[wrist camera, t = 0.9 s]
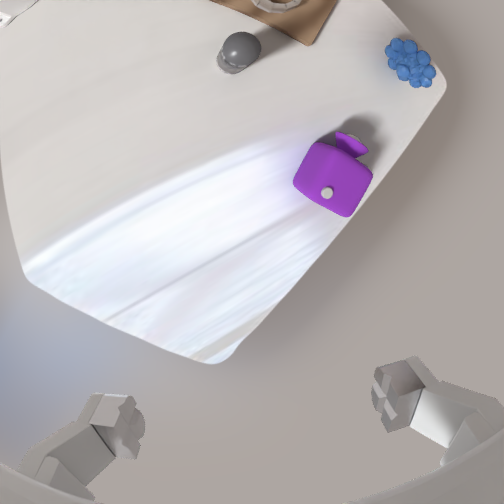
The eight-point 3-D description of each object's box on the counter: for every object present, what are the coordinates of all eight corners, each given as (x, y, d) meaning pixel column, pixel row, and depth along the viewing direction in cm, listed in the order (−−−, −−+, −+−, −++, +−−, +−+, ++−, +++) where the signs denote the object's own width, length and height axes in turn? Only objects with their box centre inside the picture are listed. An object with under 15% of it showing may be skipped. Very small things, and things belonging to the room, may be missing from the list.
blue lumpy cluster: (360, 54, 40) (401, 47, 30) (379, 36, 38) (419, 28, 28) (396, 98, 45) (438, 103, 35) (411, 80, 44) (453, 82, 33)
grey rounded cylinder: (211, 67, 38) (217, 55, 29) (224, 43, 36) (233, 26, 27) (238, 78, 39) (251, 70, 31) (251, 54, 38) (267, 41, 29)
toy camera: (358, 140, 48) (390, 149, 40) (335, 205, 54) (362, 225, 45) (309, 120, 45) (336, 124, 36) (286, 191, 50) (307, 210, 42)
